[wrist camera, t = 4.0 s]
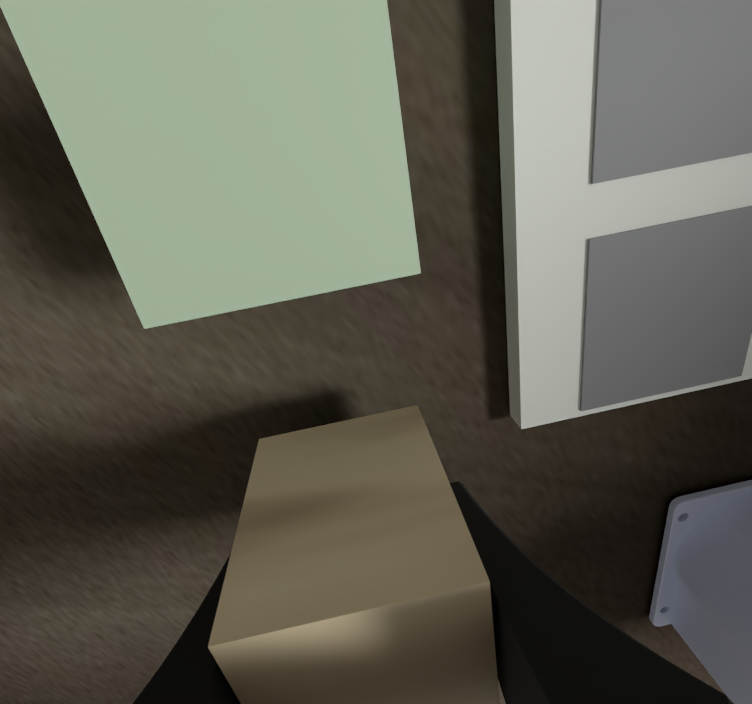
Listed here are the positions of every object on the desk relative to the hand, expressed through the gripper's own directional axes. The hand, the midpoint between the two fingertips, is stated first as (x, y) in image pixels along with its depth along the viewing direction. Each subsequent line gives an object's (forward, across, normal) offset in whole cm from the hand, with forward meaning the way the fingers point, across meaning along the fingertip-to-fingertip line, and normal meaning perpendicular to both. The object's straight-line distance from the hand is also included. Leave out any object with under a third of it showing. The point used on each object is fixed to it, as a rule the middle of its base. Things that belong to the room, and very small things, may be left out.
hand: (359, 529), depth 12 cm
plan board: (+4, -12, -7) cm, 14 cm away
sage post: (+4, 0, -10) cm, 11 cm away
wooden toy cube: (+2, 0, 0) cm, 2 cm away
